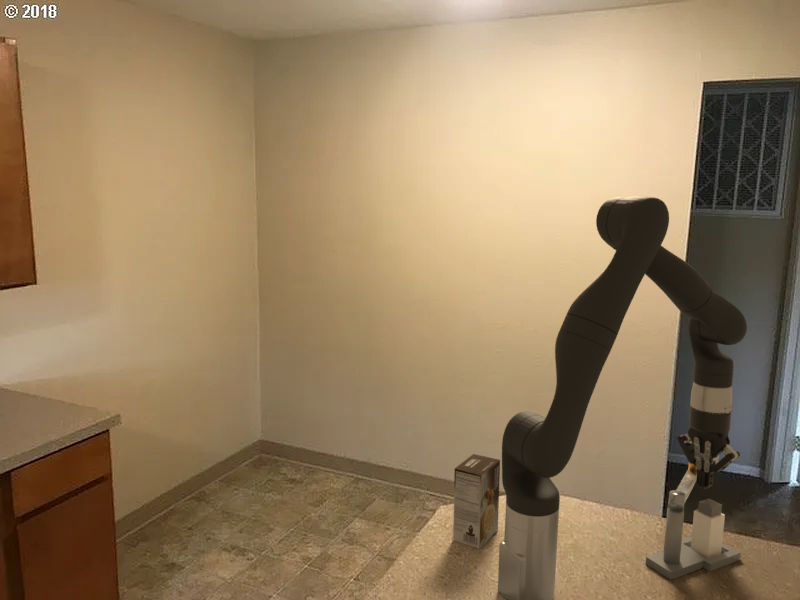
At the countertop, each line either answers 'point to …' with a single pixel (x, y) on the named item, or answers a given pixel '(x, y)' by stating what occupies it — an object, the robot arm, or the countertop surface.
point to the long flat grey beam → (683, 490)
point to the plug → (708, 528)
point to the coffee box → (476, 500)
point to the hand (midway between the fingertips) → (704, 487)
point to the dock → (685, 552)
